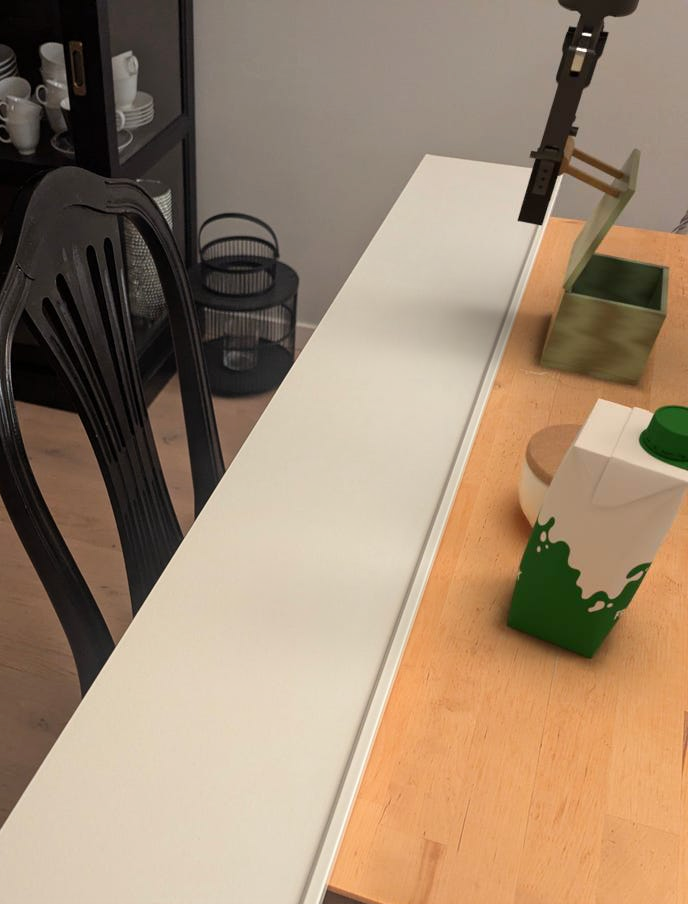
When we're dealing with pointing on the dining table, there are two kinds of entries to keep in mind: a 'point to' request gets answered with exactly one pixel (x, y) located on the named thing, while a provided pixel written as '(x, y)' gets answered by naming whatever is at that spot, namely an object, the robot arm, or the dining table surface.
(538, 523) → the soya milk
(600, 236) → the lid
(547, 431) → the trinket box
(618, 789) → the dining table surface
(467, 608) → the dining table surface
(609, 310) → the chest
